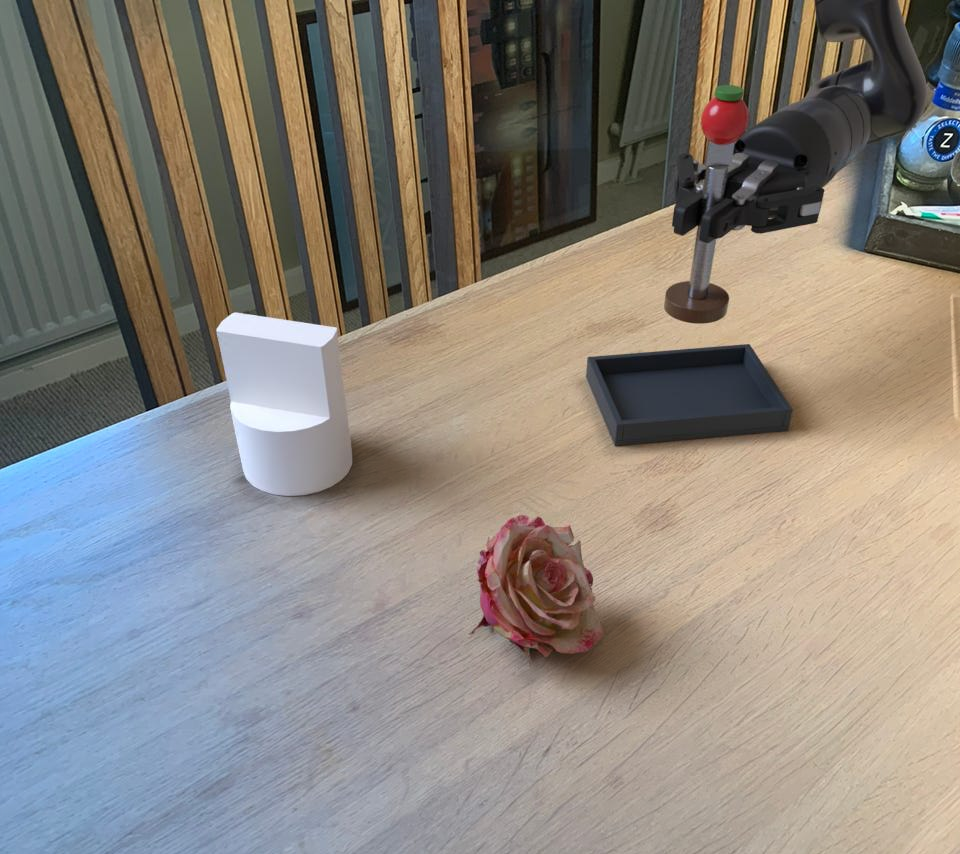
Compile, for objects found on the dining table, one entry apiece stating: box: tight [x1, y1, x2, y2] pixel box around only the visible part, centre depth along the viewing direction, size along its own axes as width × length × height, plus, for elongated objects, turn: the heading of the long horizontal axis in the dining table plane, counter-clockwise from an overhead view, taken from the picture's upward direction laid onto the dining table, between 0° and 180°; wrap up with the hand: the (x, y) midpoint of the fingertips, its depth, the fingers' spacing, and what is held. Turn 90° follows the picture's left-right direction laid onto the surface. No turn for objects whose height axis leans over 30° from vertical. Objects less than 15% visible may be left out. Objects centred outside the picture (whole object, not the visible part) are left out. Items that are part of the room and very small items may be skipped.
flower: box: [468, 514, 604, 668], centre depth 68 cm, size 10×9×8 cm
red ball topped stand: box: [663, 84, 750, 325], centre depth 79 cm, size 5×5×17 cm
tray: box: [585, 343, 794, 447], centre depth 90 cm, size 15×11×2 cm
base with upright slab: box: [215, 311, 353, 497], centre depth 81 cm, size 9×9×12 cm
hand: (692, 225), depth 78 cm, fingers closed on red ball topped stand
